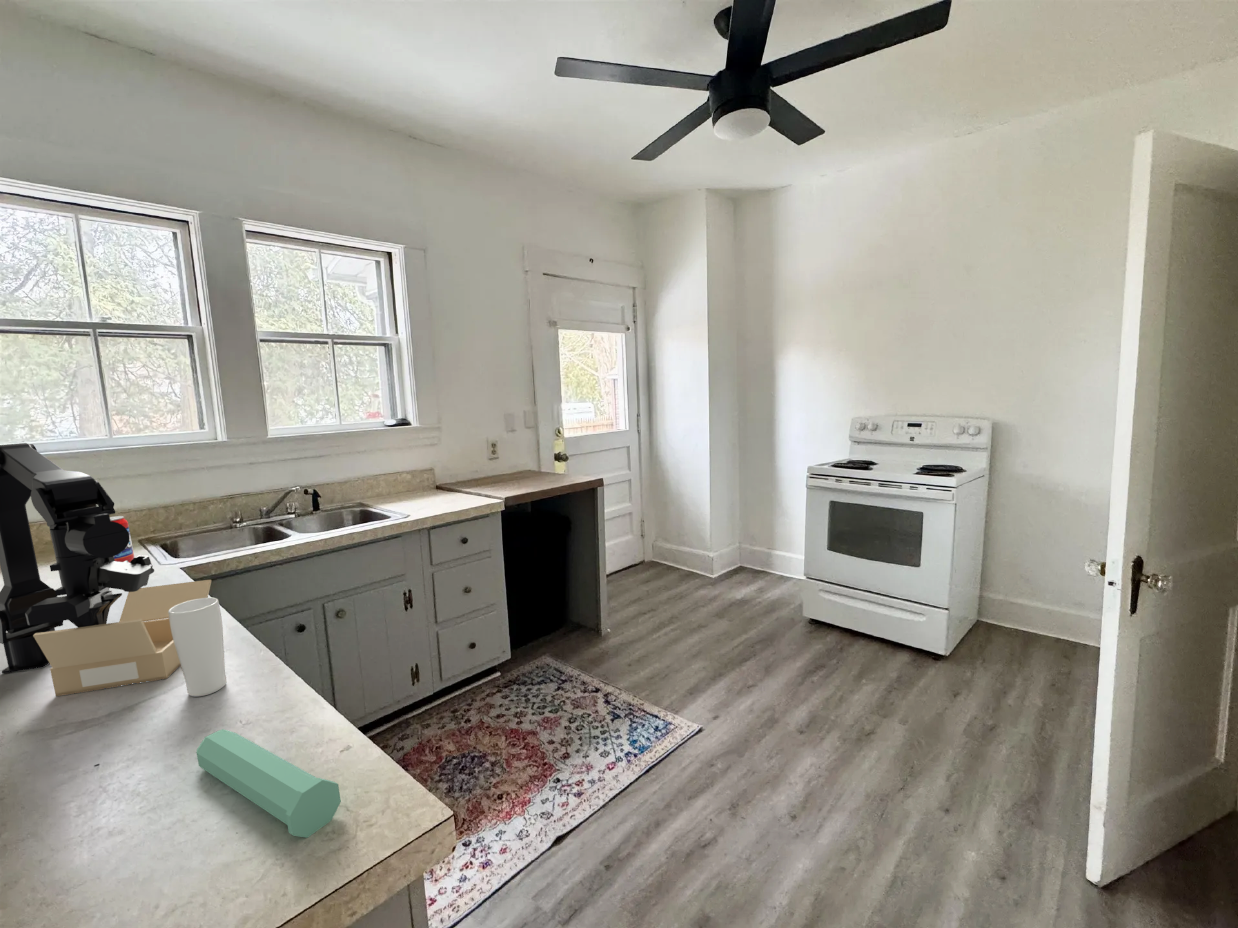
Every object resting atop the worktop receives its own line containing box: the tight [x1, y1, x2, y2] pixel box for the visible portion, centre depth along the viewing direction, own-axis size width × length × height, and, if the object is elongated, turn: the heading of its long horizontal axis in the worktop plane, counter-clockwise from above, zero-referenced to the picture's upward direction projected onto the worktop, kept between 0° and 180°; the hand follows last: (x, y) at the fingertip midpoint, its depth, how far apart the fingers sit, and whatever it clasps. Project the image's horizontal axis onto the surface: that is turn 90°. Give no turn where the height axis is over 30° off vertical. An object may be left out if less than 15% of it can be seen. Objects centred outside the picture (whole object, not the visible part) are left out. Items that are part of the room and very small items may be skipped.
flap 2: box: [118, 579, 212, 622], centre depth 115 cm, size 15×8×1 cm
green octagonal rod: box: [195, 728, 342, 839], centre depth 68 cm, size 6×6×25 cm
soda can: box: [110, 515, 135, 563], centre depth 169 cm, size 8×8×15 cm
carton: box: [49, 618, 181, 697], centre depth 104 cm, size 16×18×5 cm
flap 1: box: [33, 619, 157, 669], centre depth 93 cm, size 15×8×1 cm
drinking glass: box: [168, 597, 227, 698], centre depth 92 cm, size 7×7×15 cm
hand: (98, 641), depth 93 cm, fingers closed, pressing on flap 1
